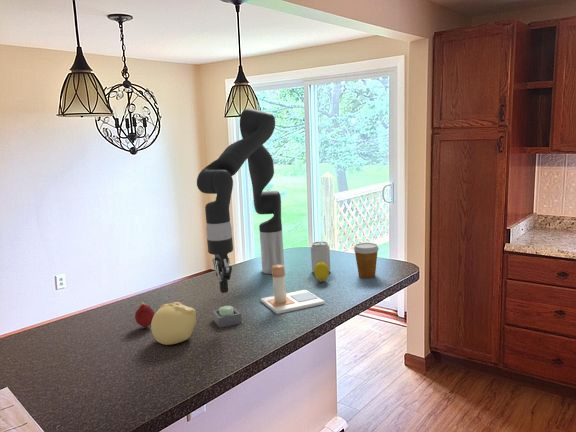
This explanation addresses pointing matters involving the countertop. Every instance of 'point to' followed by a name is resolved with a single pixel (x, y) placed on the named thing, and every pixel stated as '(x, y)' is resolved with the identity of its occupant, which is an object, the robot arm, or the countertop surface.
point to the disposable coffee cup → (366, 259)
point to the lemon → (321, 271)
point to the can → (320, 254)
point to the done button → (226, 311)
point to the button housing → (227, 318)
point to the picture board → (293, 301)
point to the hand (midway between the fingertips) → (224, 291)
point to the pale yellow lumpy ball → (173, 323)
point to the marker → (279, 283)
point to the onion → (144, 315)
